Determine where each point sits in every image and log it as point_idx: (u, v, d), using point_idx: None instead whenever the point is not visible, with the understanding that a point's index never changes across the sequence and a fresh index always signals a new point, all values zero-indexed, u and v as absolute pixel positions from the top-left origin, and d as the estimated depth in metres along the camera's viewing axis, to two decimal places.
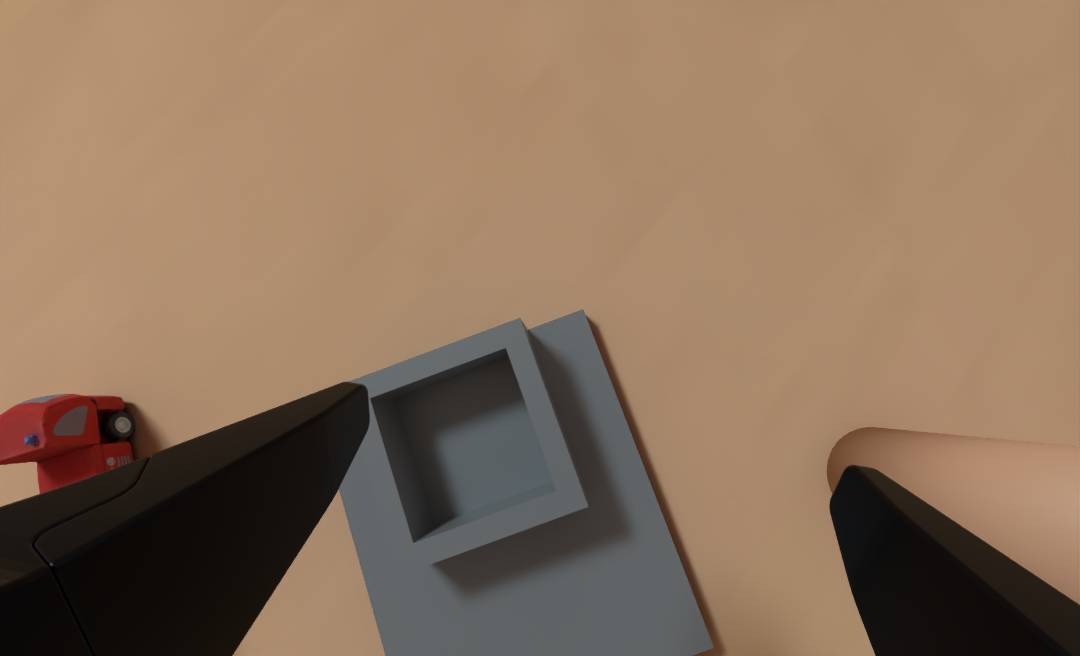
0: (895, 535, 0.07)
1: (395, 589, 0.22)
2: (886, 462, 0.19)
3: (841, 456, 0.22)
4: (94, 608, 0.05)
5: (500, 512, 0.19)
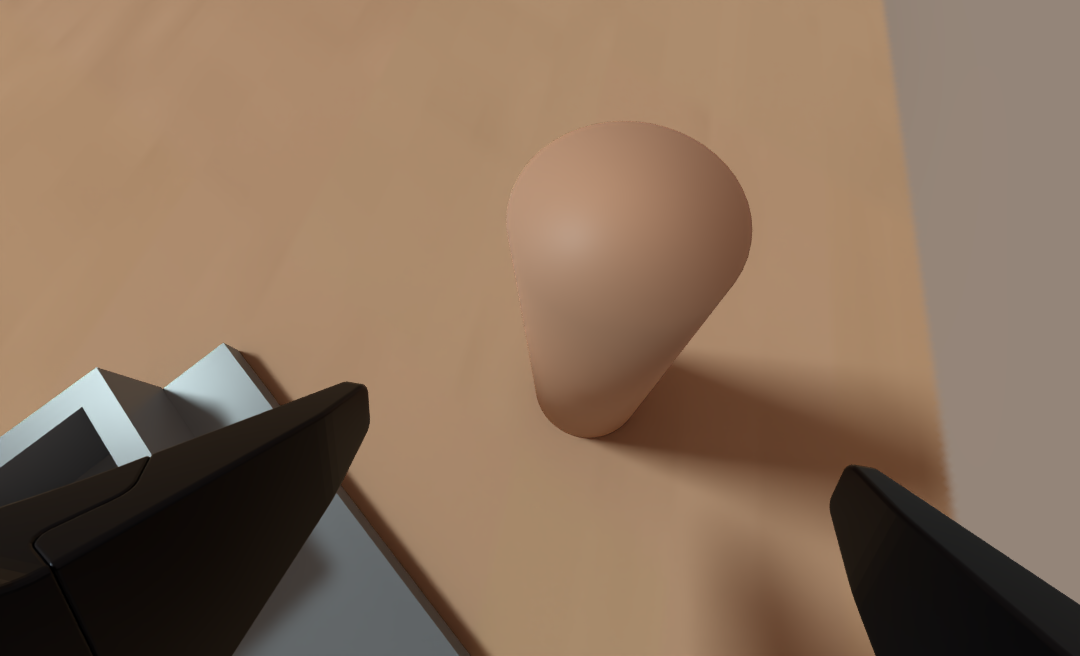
0: (895, 535, 0.07)
1: None
2: None
3: None
4: (95, 607, 0.05)
5: None
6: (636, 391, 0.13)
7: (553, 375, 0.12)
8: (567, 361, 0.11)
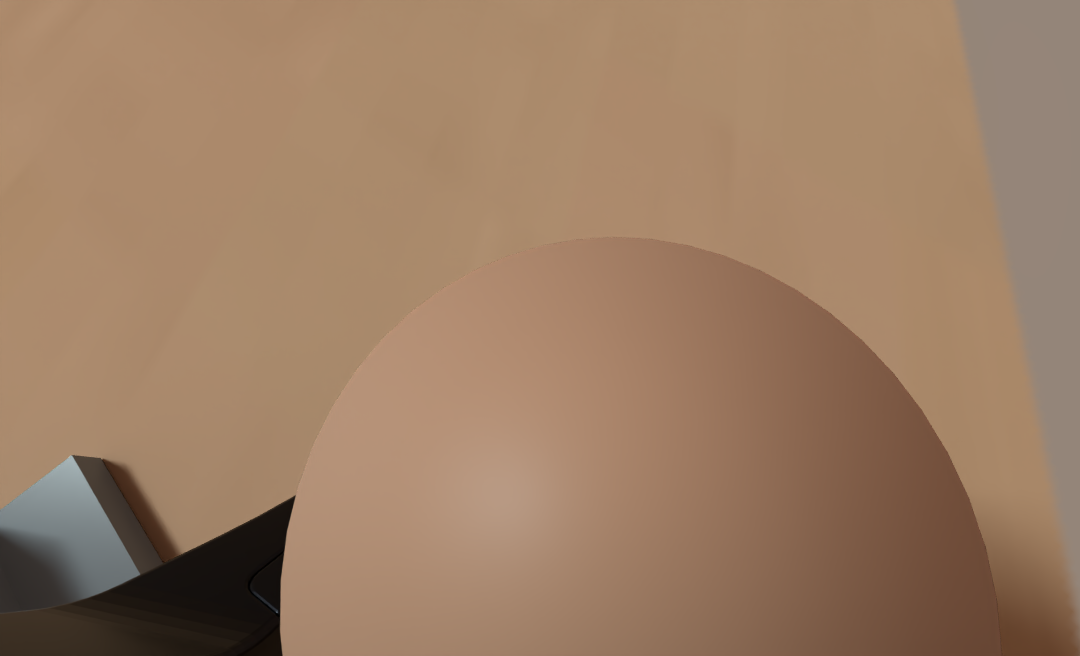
0: None
1: None
2: None
3: None
4: None
5: None
6: None
7: None
8: None
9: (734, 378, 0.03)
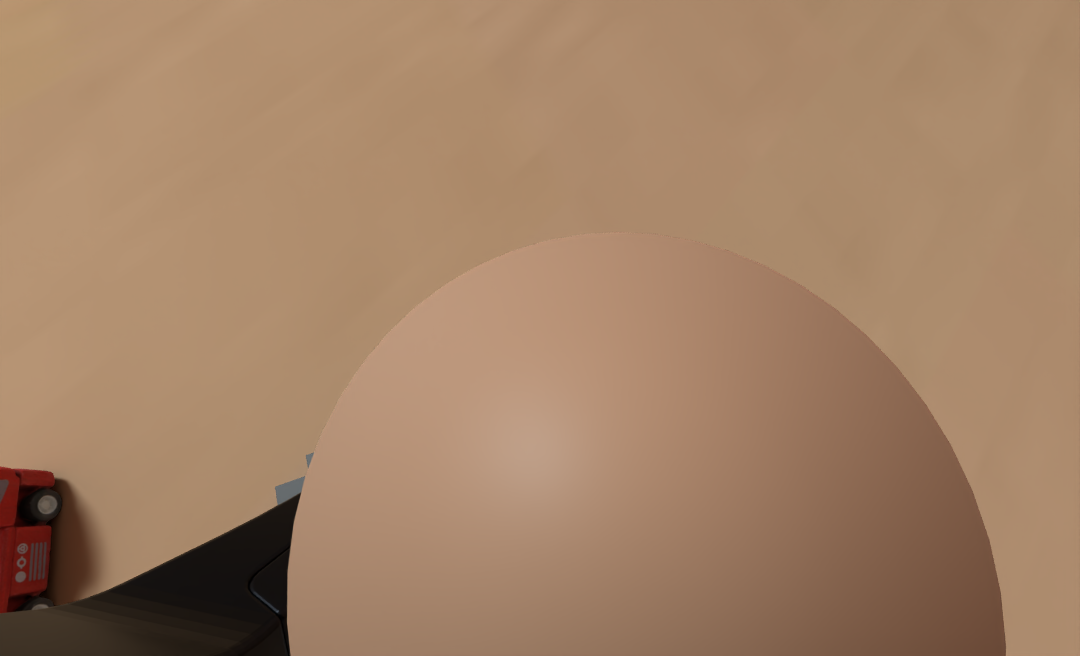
0: None
1: None
2: None
3: None
4: None
5: None
6: None
7: None
8: None
9: (738, 372, 0.03)
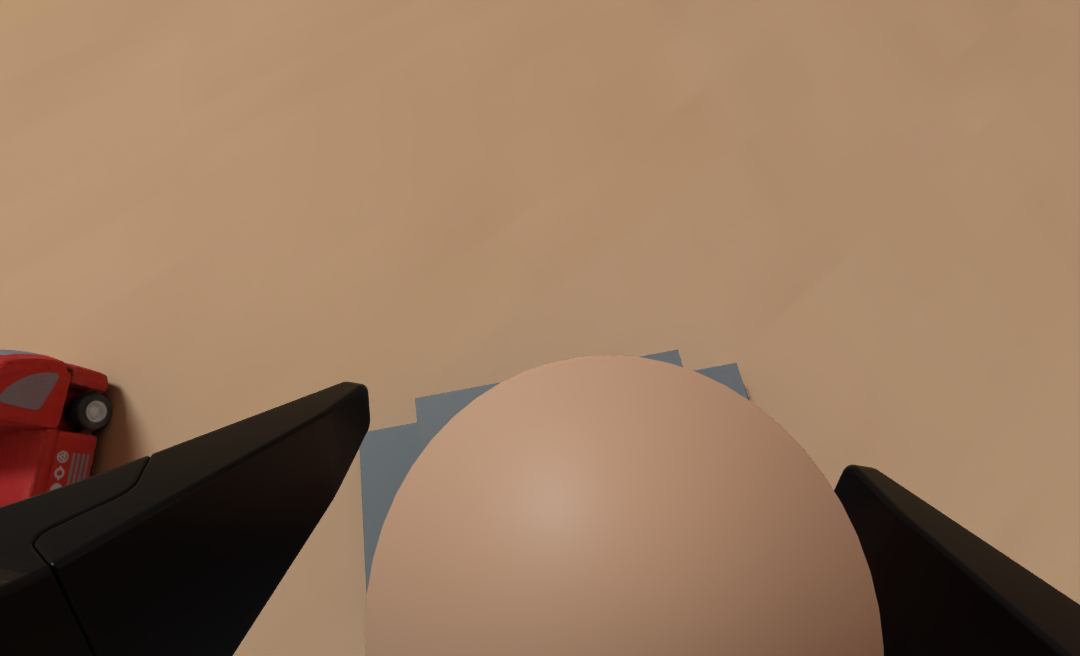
0: (895, 535, 0.07)
1: None
2: None
3: None
4: (95, 608, 0.05)
5: None
6: None
7: None
8: None
9: (701, 476, 0.04)
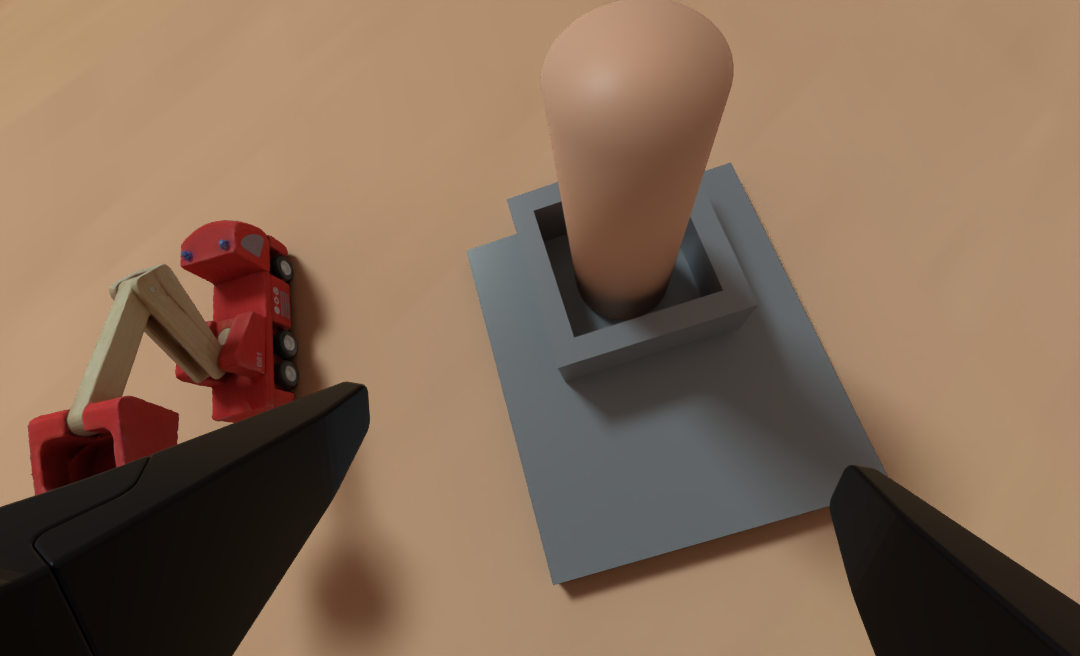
0: (895, 535, 0.07)
1: (537, 416, 0.22)
2: None
3: None
4: (96, 606, 0.05)
5: (664, 309, 0.19)
6: (661, 242, 0.15)
7: (591, 237, 0.15)
8: (601, 210, 0.13)
9: (662, 30, 0.11)
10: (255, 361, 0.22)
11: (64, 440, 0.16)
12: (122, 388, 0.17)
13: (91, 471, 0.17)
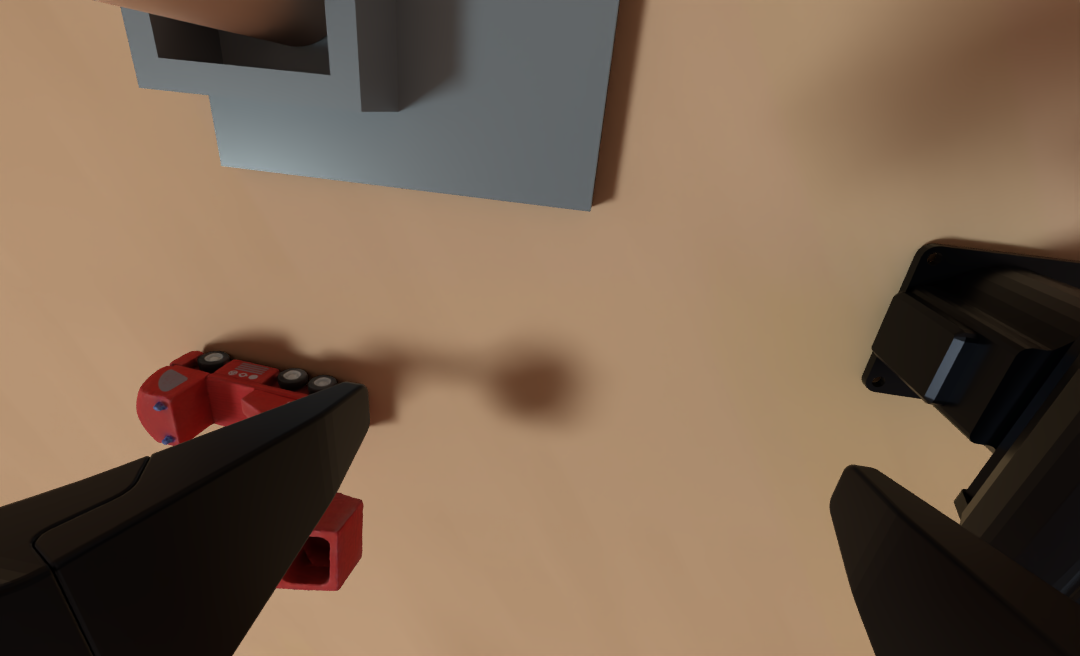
0: (895, 535, 0.07)
1: (427, 159, 0.19)
2: None
3: None
4: (96, 607, 0.05)
5: None
6: None
7: None
8: None
9: None
10: None
11: None
12: None
13: (329, 550, 0.20)
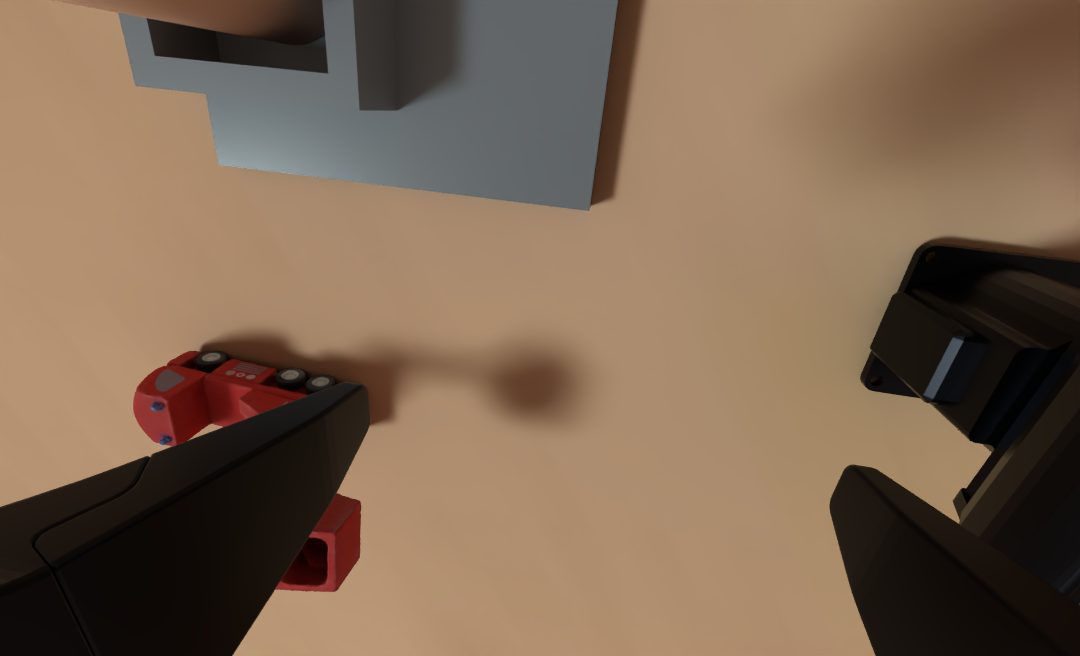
0: (895, 535, 0.07)
1: (425, 158, 0.19)
2: None
3: None
4: (95, 607, 0.05)
5: None
6: None
7: None
8: None
9: None
10: None
11: None
12: None
13: (327, 551, 0.20)
